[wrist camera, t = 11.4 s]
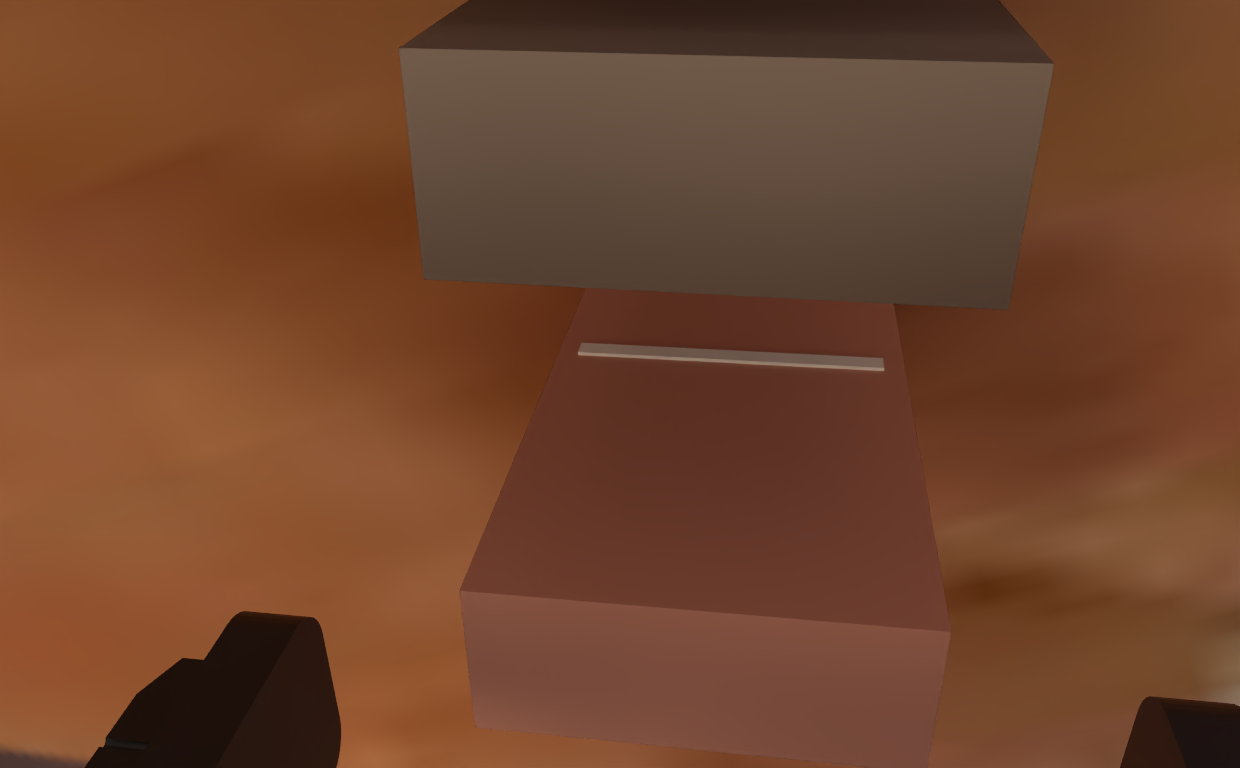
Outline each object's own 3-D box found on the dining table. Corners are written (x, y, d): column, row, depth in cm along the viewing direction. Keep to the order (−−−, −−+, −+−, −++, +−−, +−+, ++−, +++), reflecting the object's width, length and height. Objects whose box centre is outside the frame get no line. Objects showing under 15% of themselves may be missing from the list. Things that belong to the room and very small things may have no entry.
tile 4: (609, -100, 18) (397, 40, 9) (916, -98, 17) (1055, 56, 8) (611, 30, 19) (424, 283, 10) (900, 36, 18) (1007, 315, 9)
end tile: (615, 215, 21) (459, 587, 11) (880, 225, 20) (951, 628, 11) (617, 314, 22) (476, 730, 12) (869, 326, 21) (926, 776, 12)
